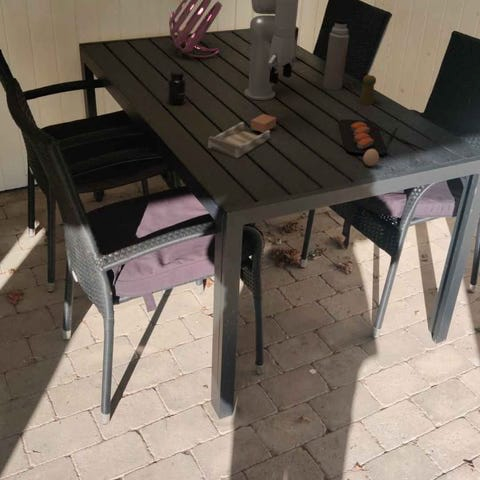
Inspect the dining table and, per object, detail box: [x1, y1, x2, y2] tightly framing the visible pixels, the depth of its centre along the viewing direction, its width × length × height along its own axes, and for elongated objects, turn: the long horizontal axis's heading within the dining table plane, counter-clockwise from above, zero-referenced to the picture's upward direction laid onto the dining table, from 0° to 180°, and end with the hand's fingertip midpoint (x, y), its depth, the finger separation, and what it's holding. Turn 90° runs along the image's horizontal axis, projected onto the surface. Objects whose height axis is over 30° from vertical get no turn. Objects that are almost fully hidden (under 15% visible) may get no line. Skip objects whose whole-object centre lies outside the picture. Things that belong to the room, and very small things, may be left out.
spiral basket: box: [168, 0, 223, 59], centre depth 305 cm, size 28×28×27 cm
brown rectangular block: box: [250, 113, 277, 134], centre depth 241 cm, size 8×6×4 cm
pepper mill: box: [357, 74, 377, 106], centre depth 268 cm, size 6×6×11 cm
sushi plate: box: [338, 118, 428, 156], centre depth 239 cm, size 29×30×4 cm
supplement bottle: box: [167, 70, 187, 106], centre depth 256 cm, size 7×7×12 cm
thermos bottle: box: [322, 18, 350, 91], centre depth 277 cm, size 8×8×28 cm
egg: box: [363, 149, 380, 167], centre depth 220 cm, size 5×5×6 cm
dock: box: [207, 121, 271, 159], centre depth 230 cm, size 20×12×5 cm, turn 146°
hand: (280, 79), depth 240 cm, fingers open, 8 cm apart
